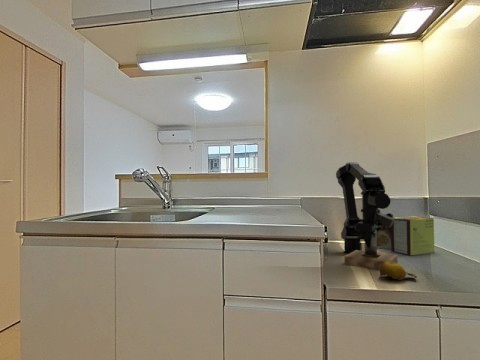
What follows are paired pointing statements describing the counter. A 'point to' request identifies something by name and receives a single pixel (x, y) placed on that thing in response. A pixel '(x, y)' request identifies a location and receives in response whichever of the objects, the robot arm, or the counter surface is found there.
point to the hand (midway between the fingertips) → (370, 246)
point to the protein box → (412, 235)
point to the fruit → (394, 271)
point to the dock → (368, 259)
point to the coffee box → (384, 237)
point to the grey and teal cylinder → (372, 245)
